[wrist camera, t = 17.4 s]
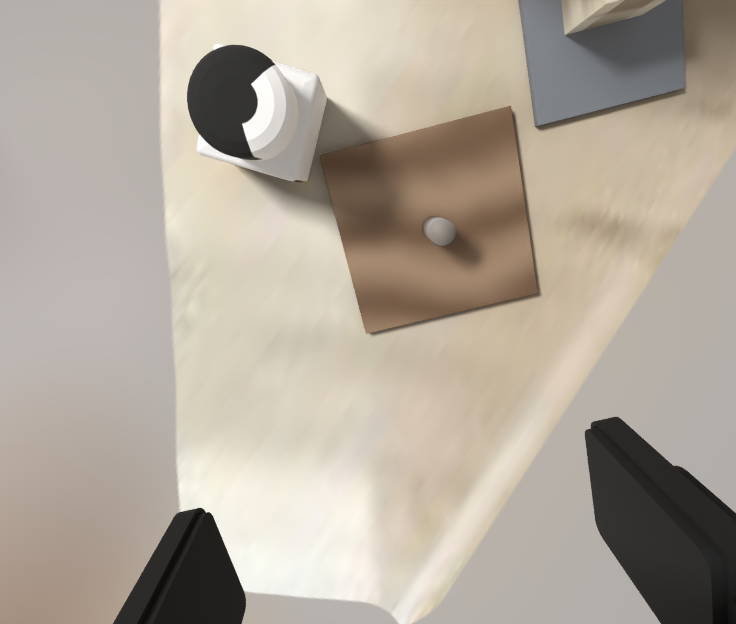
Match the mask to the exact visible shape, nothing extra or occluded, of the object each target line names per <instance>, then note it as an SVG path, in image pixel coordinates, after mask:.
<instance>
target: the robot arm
mask: <svg viewBox="0 0 736 624" xmlns="http://www.w3.org/2000/svg"><path fill="white" fill-rule="evenodd" d="M585 440H586V448H587V456H588V465H589V472H590V481H591V489H592V497H593V505H594V513H595V521H596V525H597V527H598V530H599V532H600V534H601V536H602V538H603V539H604V541H605V542H606V544H607V545H608V547H609V548H610V550H611V551H612V553H613V554H614V555H615V557H616V558H617V560H618V561H619V563H620V564H621V566H622V567H623V569H624V570H625V571H626V573H627V575H628V576H629V577H630V579H631V580H632V582H633V583H634V585H635V586H636V588H637V589H638V590H639V592H640V594H641V595H642V596H643V598H644V599H645V601H646V602H647V604H648V605H649V606H650V608H651V610H652V611H653V612H654V614H655V615H656V617H657V618H658V620H659V621H660V623H661V624H736V513H735V512H734V511H732V510H731V509H730V508H729V507H728V506H727V505H726V504H724V503H723V502H722V501H721V500H720V499H719V498H717V497H716V496H715V495H714V494H713V493H712V492H711V491H709V490H708V489H707V488H706V487H705V486H704V485H702V484H701V483H700V482H699V481H698V480H697V479H696V478H694V477H693V476H692V475H691V474H690V473H689V472H688V471H686V470H685V469H683V468H682V467H679V466H673V465H672V464H671V463H669V462H668V461H667V460H666V459H665V458H664V457H663V456H662V455H661V454H659V453H658V452H657V451H656V450H655V449H654V448H653V447H652V446H650V445H649V444H648V443H647V442H646V441H645V440H644V439H642V437H640V436H639V435H638V434H637V433H636V432H635V431H634V430H633V429H631V428H630V427H629V426H628V425H627V424H626V423H625V422H624V421H623V420H621V419H620V418H619V417H612V418H608V419H603V420H599V421H594V422H592V423H591V429H588V430H586V431H585ZM245 607H246V598H245V593H244V590H243V588H242V586H241V583H240V581H239V578H238V576H237V574H236V571H235V569H234V566H233V564H232V561H231V559H230V557H229V554H228V552H227V549H226V547H225V544H224V542H223V540H222V537H221V535H220V532H219V530H218V527H217V525H216V523H215V520H214V518H213V516H212V514H211V513H209V512H207V513H206V512H205V510H204V509H202V508H197V509H192V510H188V511H183V512H179V513H177V514H176V515H175V517H174V518H173V520H172V522H171V524H170V525H169V527H168V529H167V530H166V532H165V534H164V536H163V537H162V539H161V541H160V543H159V544H158V547H157V548H156V550H155V551H154V553H153V555H152V557H151V558H150V560H149V562H148V564H147V565H146V567H145V569H144V571H143V572H142V574H141V576H140V578H139V579H138V581H137V583H136V585H135V586H134V588H133V590H132V592H131V593H130V595H129V597H128V598H127V600H126V602H125V604H124V605H123V607H122V609H121V611H120V612H119V614H118V616H117V618H116V619H115V621H114V623H113V624H241V623H242V620H243V616H244V612H245Z"/></svg>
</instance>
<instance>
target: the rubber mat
mask: <svg viewBox="0 0 736 624" xmlns="http://www.w3.org/2000/svg"><path fill="white" fill-rule="evenodd" d="M519 7H520V14H521V22H522V30H523V37H524V45H525V53H526V60H527V68H528V76H529V83H530V91H531V99H532V106H533V114H534V122H535V127H536V126H540V125H544V124H548V123H551V122H555V121H559V120H563V119H567V118H571V117H575V116H579V115H582V114H586V113H590V112H594V111H598V110H602V109H606V108H610V107H613V106H617V105H621V104H625V103H629V102H633V101H637V100H641V99H644V98H648V97H652V96H656V95H660V94H664V93H668V92H672V91H676V90H679V89H683V88H686V86H685V61H684V37H683V13H682V0H666V1H664V2H662V3H661V4H659V5H657V6H656V7H654V8H653V9H651V10H649V11H648V12H646V13H645V14H643V15H640V16H637V17H633V18H629V19H625V20H621V21H617V22H613V23H610V24H606V25H602V26H598V27H594V28H590V29H586V30H583V31H579V32H575V33H571V34H567V35H565V33H564V23H563V13H562V3H561V0H519Z"/></svg>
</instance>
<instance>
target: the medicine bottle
mask: <svg viewBox="0 0 736 624" xmlns="http://www.w3.org/2000/svg"><path fill="white" fill-rule="evenodd" d="M326 102H327V96H326V94H325V91H324V89H323V86H322V84H321V81H320V79H319V77H318V75H316V74H314V73H311V72H308V71H305V70H301V69H298V68H295V67H292V66H289V65H286V64H282V63H279V62H276V61H273V60H271V59H270V58H268V57H267V56H266V55H264V54H263V53H261V52H259V51H258V50H256V49H253V48H251V47H247V46H243V45H227V46H225V45H222V44H216V45H215V46H214V49H213V51H211V52H210V53H208V54H207V55H206V56H204V57H203V58H202V59H201V60H200V62H199V63H198V64H197V65H196V67H195V69H194V70H193V73H192V75H191V77H190V81H189V84H188V91H187V103H188V110H189V113H190V117H191V119H192V122H193V124H194V126H195V128H196V130H197V131H198V133H199V138H198V144H197V151H198V153H199V154H200V155H203V156H206V157H210V158H213V159H217V160H220V161H223V162H227V163H230V164H234V165H237V166H240V167H244V168H247V169H251V170H254V171H258V172H261V173H264V174H268V175H271V176H275V177H278V178H281V179H285V180H288V181H293V182H307V181H308V178H309V174H310V170H311V165H312V161H313V157H314V153H315V148H316V144H317V140H318V136H319V132H320V127H321V123H322V119H323V115H324V110H325V106H326Z"/></svg>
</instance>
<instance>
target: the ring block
mask: <svg viewBox="0 0 736 624" xmlns="http://www.w3.org/2000/svg"><path fill="white" fill-rule="evenodd" d="M664 1H666V0H561V3H562V13H563V23H564V33H565V35H567V34H571V33H575V32H579V31H583V30H586V29H590V28H594V27H598V26H602V25H606V24H610V23H613V22H617V21H621V20H625V19H629V18H633V17H637V16H640V15H643V14H645V13H646V12H648V11H649V10H651V9H653V8H654V7H656V6H657V5H659V4H661V3H662V2H664Z"/></svg>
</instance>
